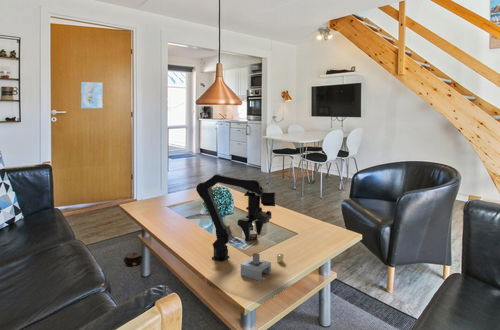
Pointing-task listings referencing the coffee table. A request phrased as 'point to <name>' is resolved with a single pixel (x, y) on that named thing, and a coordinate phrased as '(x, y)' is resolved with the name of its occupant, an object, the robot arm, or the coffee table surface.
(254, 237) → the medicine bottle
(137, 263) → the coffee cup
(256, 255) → the long pin
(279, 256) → the short pin
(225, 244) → the robot arm
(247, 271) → the frame
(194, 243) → the coffee table surface
